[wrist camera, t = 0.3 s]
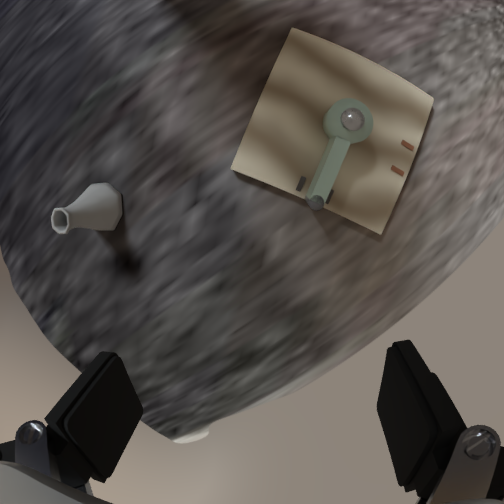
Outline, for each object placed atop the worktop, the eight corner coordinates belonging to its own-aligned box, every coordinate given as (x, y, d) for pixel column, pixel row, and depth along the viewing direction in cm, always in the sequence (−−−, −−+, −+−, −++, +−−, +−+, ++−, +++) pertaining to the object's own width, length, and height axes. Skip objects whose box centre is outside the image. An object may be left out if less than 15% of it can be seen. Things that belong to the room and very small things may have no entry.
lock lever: (331, 98, 29) (339, 88, 24) (368, 116, 29) (381, 110, 24) (290, 196, 33) (292, 201, 28) (327, 212, 33) (335, 220, 28)
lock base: (291, 32, 28) (292, 26, 26) (429, 100, 29) (434, 98, 27) (232, 168, 34) (230, 169, 33) (377, 232, 35) (381, 235, 33)
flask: (128, 188, 36) (86, 199, 27) (119, 237, 38) (78, 259, 29) (89, 176, 36) (43, 183, 26) (81, 222, 38) (38, 240, 29)
